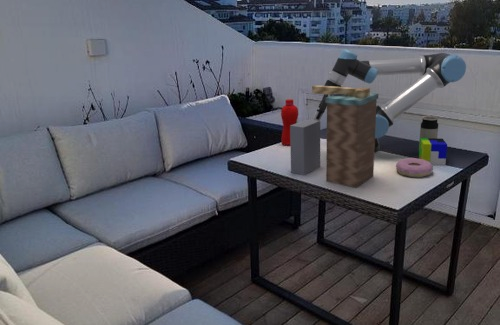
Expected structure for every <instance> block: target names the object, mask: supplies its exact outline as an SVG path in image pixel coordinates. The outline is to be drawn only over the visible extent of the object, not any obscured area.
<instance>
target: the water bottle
mask: <svg viewBox="0 0 500 325" xmlns="http://www.w3.org/2000/svg"><path fill="white" fill-rule="evenodd" d="M280 116H281V122H282V127H283V128H282V132H281V144H282V146H290V125H293V124H296V123H298V116H299V109H298V106H296V105H294V99H289V98H287V99H285V104H284V106H283V107H282V108H281V110H280ZM290 147H291V146H290Z"/></svg>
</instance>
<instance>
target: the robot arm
mask: <svg viewBox="0 0 500 325" xmlns="http://www.w3.org/2000/svg"><path fill="white" fill-rule="evenodd" d="M466 71H467V64H466V61H465V59H464V58H463V57H461V56H459V55H457V54H450V53H446V52H440V53H432V54H425V55H424V54H423V55H420V56H419V57H409V58H390V59H372V60H370V59H369V60H358V54H357V53H355V52H353V51H351V50H348V49H346V48H344V49H342V50H341V52H340V53H339V55H338V57H337V60H336V62H335V64H334V65H333V68H332V69H331V71H329V75H328V79H327V80H326V82H325V83H324V85H323V86H334V87H342V85H343V86H344V84H345V81H346V80H347V77H348V75H350V76H351V77H354V78H355V79H358V80H360V81H362V82H363V83H366V84H372V83H373V82H374V81H375V80H376V77H377V76H393V75H394V76H395V75H411V74H412V75H413V74H415V75H416V74H418V75H420V77H418V78H417V79H416V80H415V81H414V82H412V83H411V84H409V85H408V86H407V87H406V88H405V89H403V90H402V91H401V92H399V93H398V94H397V95H395V96H394V97H392V98H391V99H389V100H388V101H387V102H386V103H384V104H383V105H382V104H378V105H376V126H375V149H374V153H376V152H378V151H380V141H379V138H382V137H385V135H386V134H387V133H388V131H389V128H390V127H392V126H393V125H394V124H395V120H396V119H398V118H399V117H400V116H401V115H402V114H404V113H405V112H406V111H408V110H410V109H411V108H412V107H413V106H415V105H416V104H417V103H419V102H420V101H421V100H424V98H426V97H427V96H428V95H430V94H431V93H432V92H434V91H435V90H437V88H438V89H443V88H444V87H446V86H447V85H449V84H450V83H455V82H458V81H460V80H462V78H463V77H464V76H465V74H466ZM329 96H332V95H327V94H323V96H322V99H321V101H320V102H319V104H318V107H317V109H316V110H315V113H314V115H313V117H312V118H311V120H317V121H320V122H321V119H322V117H323V114H324V113H325V111H326V110H327V103H325V98H326V97H329Z"/></svg>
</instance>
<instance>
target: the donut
mask: <svg viewBox="0 0 500 325" xmlns="http://www.w3.org/2000/svg"><path fill="white" fill-rule="evenodd" d="M433 166H434V165H431V163H430V162H428V161H426V160H423V159H419V158H415V157H410V158H402V159H400V160H398V161H397V162H396V163H395V169H396V171H397V173H399V174H400V175H402V176H405V177H409V178H422V177H423V178H424V177H426V176H429V175H430V174H432V172H433V170H434V168H433Z"/></svg>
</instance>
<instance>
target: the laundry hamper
mask: <svg viewBox="0 0 500 325" xmlns="http://www.w3.org/2000/svg"><path fill="white" fill-rule="evenodd" d="M379 95H380V94H379V93H373V92H370V96H367V97H364V98H355V97H352V96H347V94H342V93H333V95H332V96H329V97H326V98H325V103H327V107H326V166H325V167H326V177H325V178H326V182H328V183H332V184H333V183H334V184H338V185H342V186H347V187H352V188H355V189H356V188H358V187H360V186H361V185H363V184H364V183H366V182H367V181H369V180H370V179H372V178H374V169H375V168H374V167H375V152H374V149H375V126H376V106H377V100H378V99H379Z"/></svg>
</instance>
